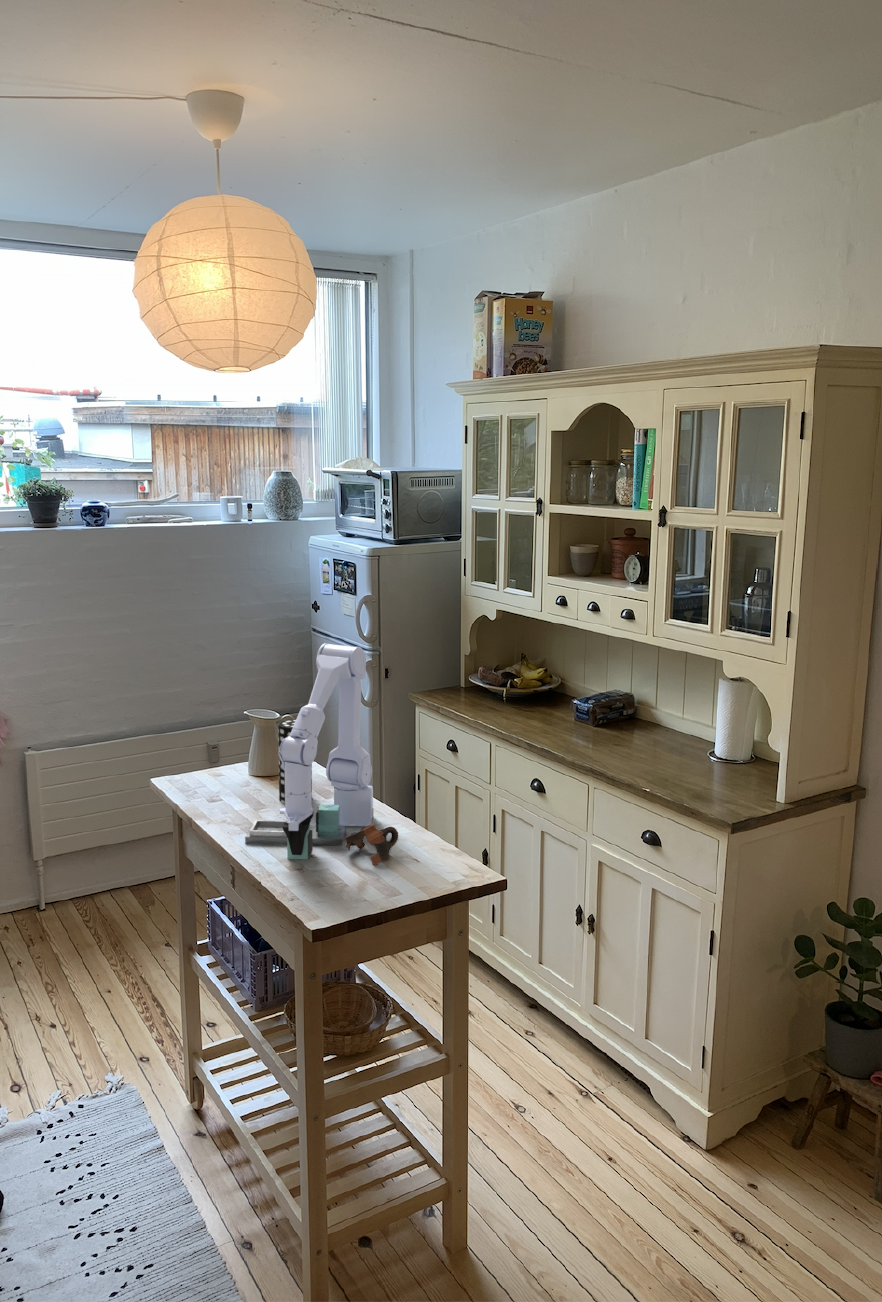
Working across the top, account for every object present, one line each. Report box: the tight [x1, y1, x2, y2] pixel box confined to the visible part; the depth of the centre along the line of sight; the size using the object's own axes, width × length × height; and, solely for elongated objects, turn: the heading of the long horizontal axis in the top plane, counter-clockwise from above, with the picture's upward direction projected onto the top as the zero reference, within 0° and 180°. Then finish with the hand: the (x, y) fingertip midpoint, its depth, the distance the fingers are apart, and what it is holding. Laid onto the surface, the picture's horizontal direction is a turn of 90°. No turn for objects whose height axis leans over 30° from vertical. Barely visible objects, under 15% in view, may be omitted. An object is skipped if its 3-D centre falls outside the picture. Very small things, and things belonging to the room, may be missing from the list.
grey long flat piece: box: [244, 803, 347, 846], centre depth 223 cm, size 22×8×8 cm, turn 90°
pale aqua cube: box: [286, 827, 313, 860], centre depth 213 cm, size 5×4×6 cm
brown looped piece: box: [344, 823, 399, 866], centre depth 214 cm, size 12×10×8 cm
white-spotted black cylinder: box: [277, 718, 313, 804], centre depth 246 cm, size 8×8×20 cm
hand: (298, 849), depth 213 cm, fingers open, 5 cm apart
